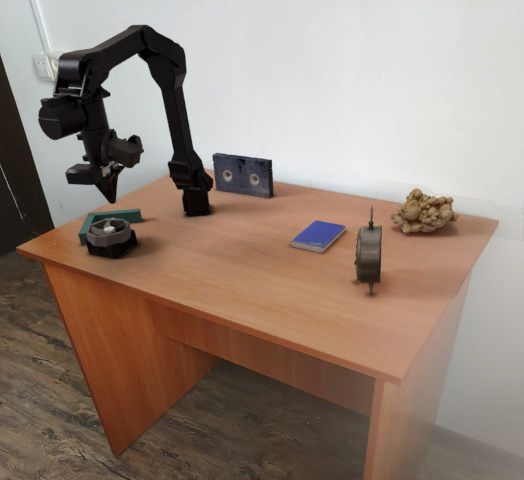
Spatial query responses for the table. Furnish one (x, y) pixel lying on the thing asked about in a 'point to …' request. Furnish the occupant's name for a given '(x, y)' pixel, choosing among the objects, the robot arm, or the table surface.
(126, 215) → the corner stop
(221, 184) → the vhs cassette tape
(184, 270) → the table surface
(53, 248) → the table surface
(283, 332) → the table surface
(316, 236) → the blue book
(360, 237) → the alarm clock
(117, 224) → the cpu cooler
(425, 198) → the mineral formation
